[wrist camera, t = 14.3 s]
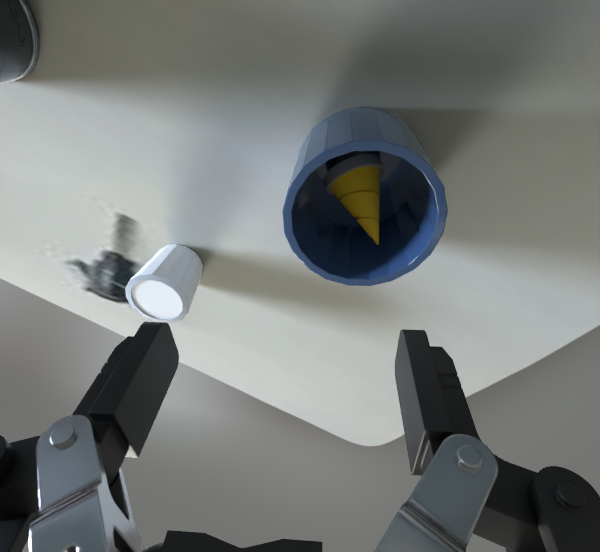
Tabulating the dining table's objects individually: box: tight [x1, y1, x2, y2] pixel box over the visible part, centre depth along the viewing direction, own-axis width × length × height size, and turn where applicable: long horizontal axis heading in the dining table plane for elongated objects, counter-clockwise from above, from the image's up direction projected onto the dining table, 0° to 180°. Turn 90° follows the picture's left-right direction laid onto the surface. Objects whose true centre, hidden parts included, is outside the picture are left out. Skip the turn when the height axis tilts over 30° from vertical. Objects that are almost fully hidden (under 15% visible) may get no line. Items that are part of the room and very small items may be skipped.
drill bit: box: [323, 151, 384, 245], centre depth 32 cm, size 5×5×10 cm
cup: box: [283, 107, 448, 286], centre depth 32 cm, size 12×12×10 cm
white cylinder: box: [126, 244, 203, 323], centre depth 42 cm, size 7×7×7 cm
